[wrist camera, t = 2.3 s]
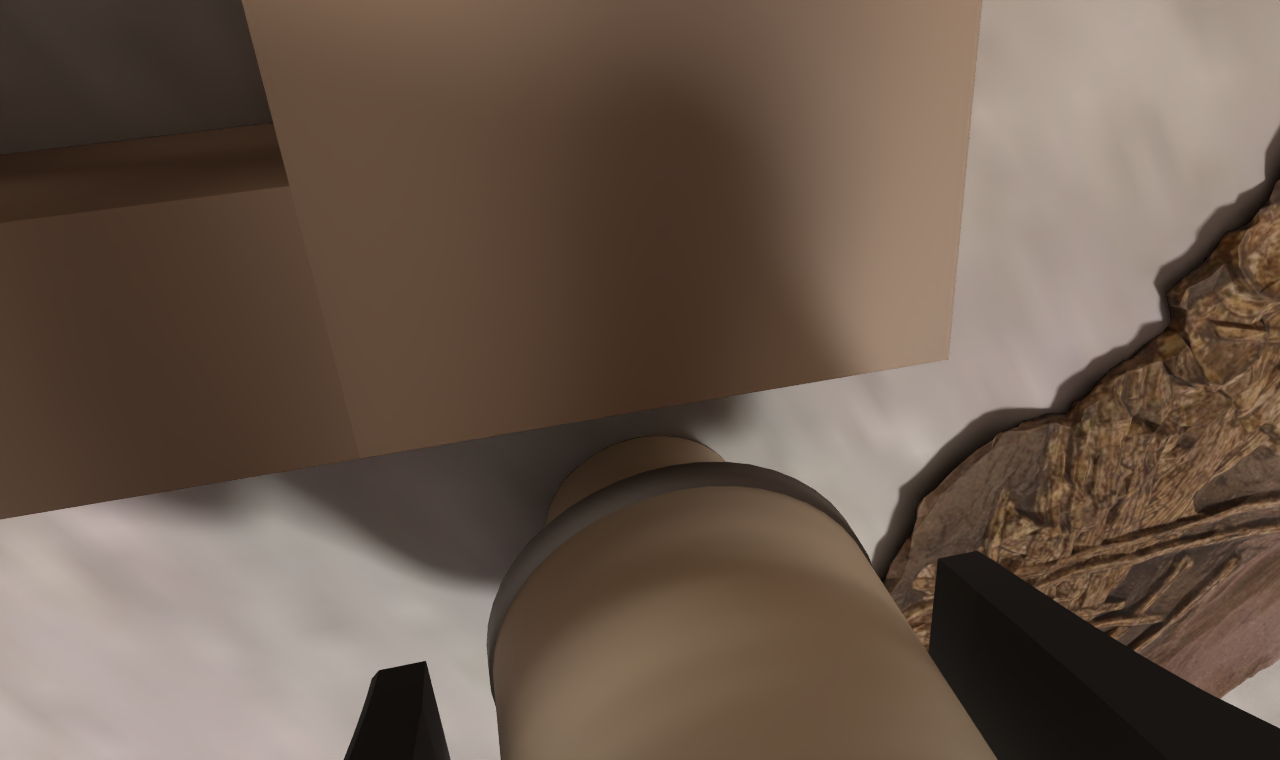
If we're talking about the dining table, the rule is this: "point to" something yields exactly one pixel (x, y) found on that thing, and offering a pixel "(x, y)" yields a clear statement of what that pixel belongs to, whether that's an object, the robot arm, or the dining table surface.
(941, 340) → the board
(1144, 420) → the wooden fragment
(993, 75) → the dining table surface
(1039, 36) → the dining table surface
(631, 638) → the peg
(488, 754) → the dining table surface
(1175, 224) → the dining table surface
